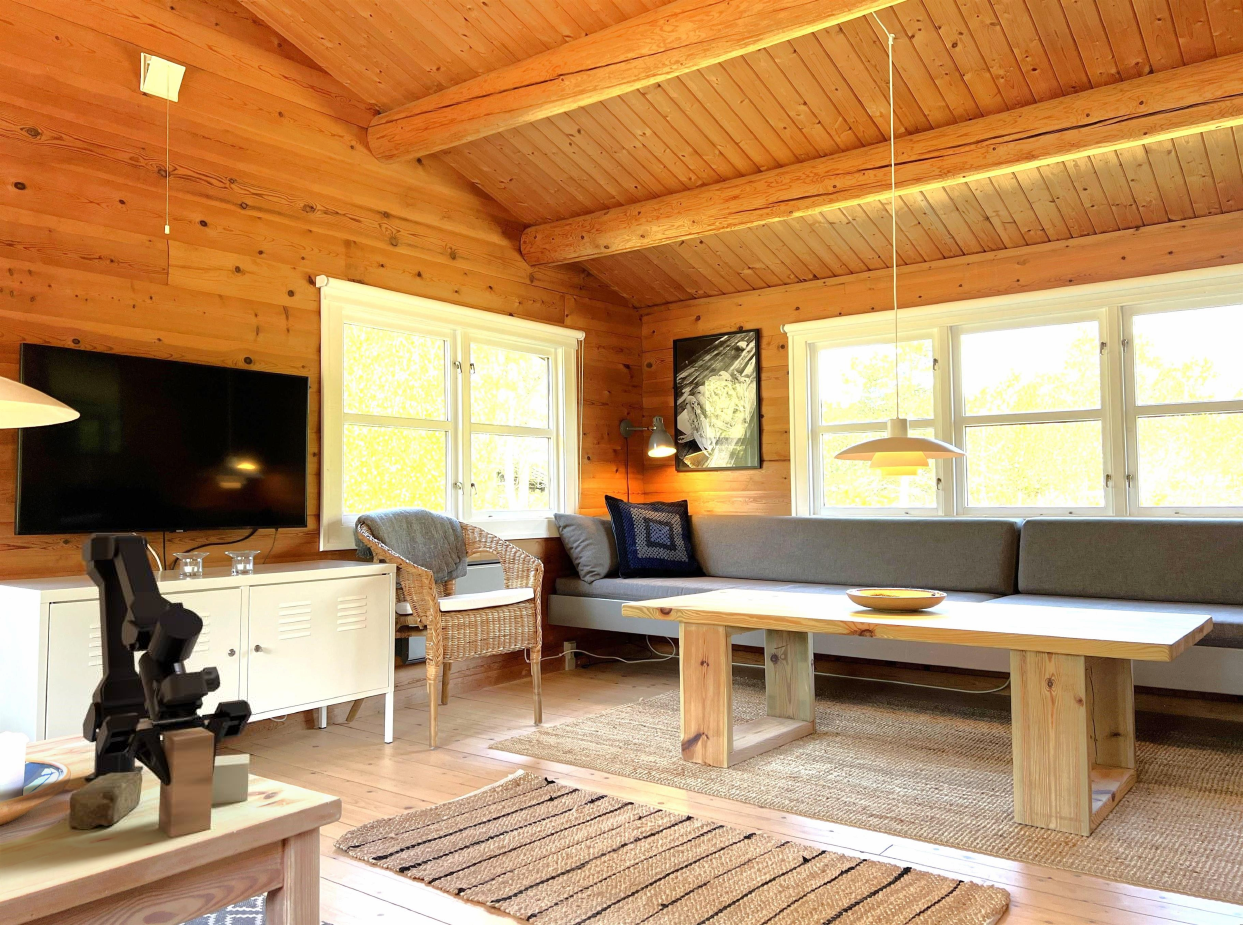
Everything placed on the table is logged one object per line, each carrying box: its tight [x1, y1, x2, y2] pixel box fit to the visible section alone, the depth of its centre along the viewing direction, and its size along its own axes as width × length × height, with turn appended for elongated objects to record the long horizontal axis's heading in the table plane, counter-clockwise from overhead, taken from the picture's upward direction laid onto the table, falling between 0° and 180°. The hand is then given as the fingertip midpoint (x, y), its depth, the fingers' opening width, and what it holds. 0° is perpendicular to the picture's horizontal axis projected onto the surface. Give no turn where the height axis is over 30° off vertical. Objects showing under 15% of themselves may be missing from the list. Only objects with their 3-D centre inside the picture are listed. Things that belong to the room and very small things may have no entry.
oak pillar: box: [158, 727, 214, 838], centre depth 125 cm, size 5×5×12 cm
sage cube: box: [211, 753, 250, 805], centre depth 138 cm, size 6×6×6 cm
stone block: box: [68, 771, 143, 830], centre depth 129 cm, size 6×12×5 cm, turn 8°
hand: (190, 780), depth 124 cm, fingers closed on oak pillar, 5 cm apart
